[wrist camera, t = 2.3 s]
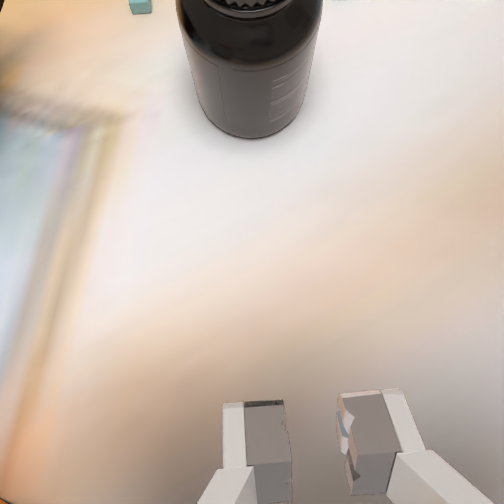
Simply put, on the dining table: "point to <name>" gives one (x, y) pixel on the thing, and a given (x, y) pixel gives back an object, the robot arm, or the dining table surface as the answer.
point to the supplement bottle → (250, 59)
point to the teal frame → (140, 6)
